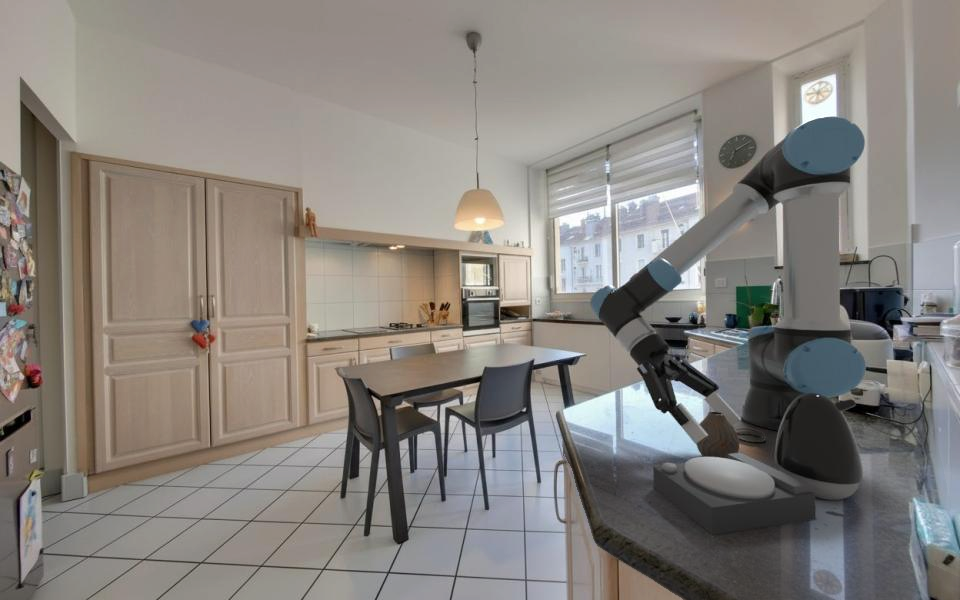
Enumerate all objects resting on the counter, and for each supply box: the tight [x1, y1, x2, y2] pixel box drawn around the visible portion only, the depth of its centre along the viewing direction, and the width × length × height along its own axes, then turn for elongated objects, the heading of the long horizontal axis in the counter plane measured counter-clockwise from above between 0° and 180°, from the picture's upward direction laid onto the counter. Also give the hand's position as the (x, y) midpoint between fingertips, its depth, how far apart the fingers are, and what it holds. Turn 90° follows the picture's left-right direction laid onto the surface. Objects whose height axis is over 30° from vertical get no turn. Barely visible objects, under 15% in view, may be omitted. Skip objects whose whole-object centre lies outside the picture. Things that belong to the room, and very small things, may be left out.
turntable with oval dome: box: [652, 452, 817, 536], centre depth 55 cm, size 16×12×4 cm
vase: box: [695, 410, 740, 459], centre depth 69 cm, size 7×7×9 cm
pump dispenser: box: [773, 393, 864, 501], centre depth 58 cm, size 10×10×15 cm
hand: (719, 431), depth 69 cm, fingers open, 13 cm apart
